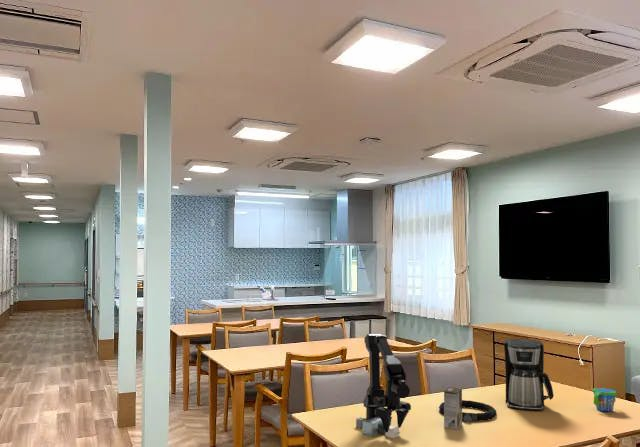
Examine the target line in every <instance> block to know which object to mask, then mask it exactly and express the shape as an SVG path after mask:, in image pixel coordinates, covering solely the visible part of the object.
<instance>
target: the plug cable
mask: <svg viewBox="0 0 640 447" xmlns="http://www.w3.org/2000/svg"><path fill="white" fill-rule="evenodd" d="M365 418H366V417H365ZM365 418H364V417H357V418H356V420H355V421H356V422H355V427H356V428H359V429H362V425H363V421H365V420H366V419H365ZM399 429H400V428H399V427H398V426H395V425H392V424H391V426H390V427H389V430H388V432H385V429H382V428H378V434H380V435H381V434H382V435H385V437H388V438H392V439H395V438H398V437H399V436H400V434H401V432H400V430H399Z"/></svg>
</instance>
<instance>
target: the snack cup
mask: <svg viewBox="0 0 640 447" xmlns="http://www.w3.org/2000/svg"><path fill="white" fill-rule="evenodd" d="M592 393H593V395H594V396H593V405H595V406H596V407H595V408H596V410H598V411H600V410H601V411H600V412H604V411H608V412H607V413H610V411H611V412H613V411H614V406H615V403H616V396H617V391H616V390H613V389H611V388H601V387H596V388H595V387H594V388H592Z"/></svg>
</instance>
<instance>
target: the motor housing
mask: <svg viewBox="0 0 640 447" xmlns="http://www.w3.org/2000/svg"><path fill="white" fill-rule="evenodd" d="M391 425H392V422H391V423H390V426H391ZM378 428H382V429H384V426H383V423H382V420H381V419H380V418H379V417H374V418H371V419H368V420H365V421H363V425H362V428H361V429H362V435H366V436H368V437H374V436H377V435H378V434H379V433H378Z"/></svg>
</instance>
